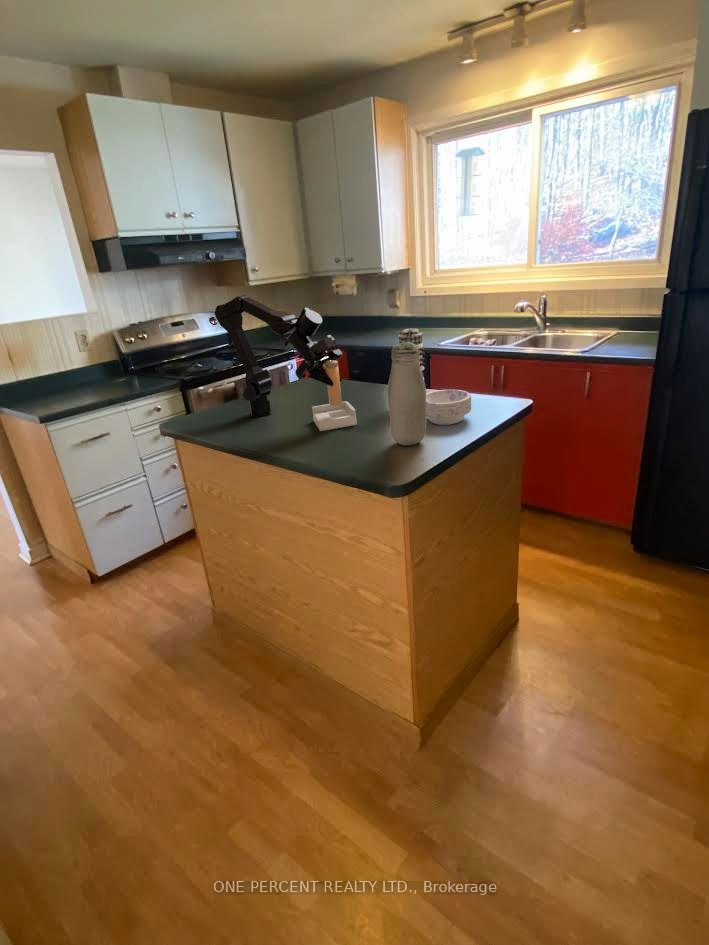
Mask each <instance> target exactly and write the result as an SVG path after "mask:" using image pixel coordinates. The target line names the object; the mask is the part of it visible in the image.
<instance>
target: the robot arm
mask: <svg viewBox="0 0 709 945" xmlns="http://www.w3.org/2000/svg"><path fill="white" fill-rule="evenodd" d="M244 312H245V313H247V314H248V315H250V316H253V317H255V318H256V319H258V320H260V321H261V322H264V323H266V324H267V325H268V327H269V328H270V330H271V331H273V332H274V333H276V334H277V335H278V336H283V335H287V334H289V335H288V336H286V337H284V347H285V348H286V347H289V346H292V347H293V349H295V351H296V352H297V353H298V357H297V358H299V360H302V359H303V360H302V361H301V362H300V363H299V365H298V366H297V368H296V369H295V376H296V378H298V380H302V379H304V378H306V376H307V374H306V372H308V376H307V378H308V379H313V380H315V381H318V382H321V383H323V384H325V385H330V386H333V385H334V383H333V382H332V380H331V379H330V377H329V376H328V375H327V374H326V370H325V362H326V361H331V360H336V361H339V360H340V358H342V356H343V355H344V353H343V352H342V351H341V349H339V348H335V347H336V339H335V338H334V337H333V336H332V335H331V334H327V335H326V336H324V337H323V339H320V340H319V341H313V340H312V339H311V338H310V337H313V336H314V335H315V334H316V332H317V330H318V329H319V328H320V325H321V324H322V323H323V317H322V316H321V315H320V313H318V312H316V311H314V310H312V309H310V308H309V307H305V308H302V310H301V312H300V314H299V316H297V317H296V316H295V315H294V313H291V312H286V311H280V310H275V309H273V308H271V307H269V306H267V305H265V304H262V303H261V302H259V301H257V300H255V299H254V298H251V296H249V295H248V294H244V295H237V296H235V297H234V298H233V299H231V300H229V301H227V302H225V303H223V304H219V305H217V306H216V307H215V310H214V316H215V319H216V320H217V322H218V324H219V325H220V327H221V328H222V329H224V330H225V331H226V332H227V333H228V335H229V337H230V340H231V341H232V344H233V346H234V348H235V351H236V354H237V355H238V357H239V359H240V362H241V364H242V366H243V369H244V372H245V376H244V379H245V380H244V381H245V385H246V388H245V390H244V391H243V393H242V397H243V399H244V401H248V402H249V406H250V414H251V415H250V416H251V417H252V418H257V417H264V416H270V415H271V412H272V410H271V404H270V403H271V402H270V400H269V398H268V396H270V395H271V390H272V387H273V382H272V381H273V379H272V377H271V376H270V373H269V371H268V370H267V368H265V369H263V368H262V367H260V365H259V363H258V360H257V358H256V356H255V353H254V352H253V349H252V347H251V344H250V342H249V340H248V337H247V335H246V333H245V330H244V327H243V320H244V319H243V313H244ZM333 348H335V349H333ZM330 349H332V350H330ZM328 350H330V351H328ZM339 379H340V383H342V382H343V379H342V377H341V375H340V373H339Z"/></svg>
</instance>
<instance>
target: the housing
mask: <svg viewBox="0 0 709 945" xmlns="http://www.w3.org/2000/svg"><path fill="white" fill-rule="evenodd" d="M311 409H312V411H311V412H312V417H313V423H314V424H315V426H316V427H317V428H318V430H319V432H322V431H329V430H334V429H339V428H345V427H351V426H356V425H358V421H357V410H356V409H355V408H354V406H352V404H351V403H349V401H347V400H345V401H342V404H341V405H338V406H330V404H329V403H326V404H321V405H314V406H311Z"/></svg>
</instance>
